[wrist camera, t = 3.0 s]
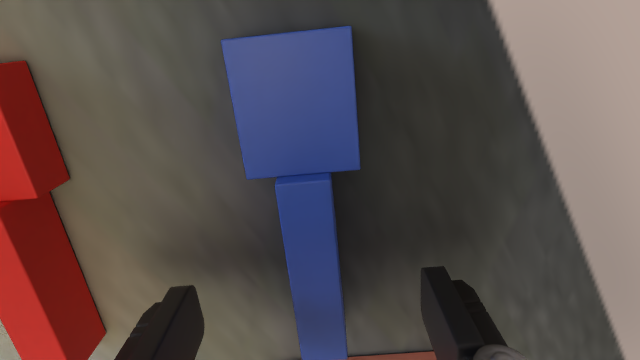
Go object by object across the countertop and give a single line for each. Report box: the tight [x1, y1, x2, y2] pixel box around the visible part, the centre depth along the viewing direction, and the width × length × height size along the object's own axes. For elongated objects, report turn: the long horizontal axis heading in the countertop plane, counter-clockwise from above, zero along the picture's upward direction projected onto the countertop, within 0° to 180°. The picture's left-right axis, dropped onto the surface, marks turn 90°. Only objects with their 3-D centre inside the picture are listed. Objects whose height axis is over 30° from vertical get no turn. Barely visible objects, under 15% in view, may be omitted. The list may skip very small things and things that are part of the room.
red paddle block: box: [0, 61, 106, 360], centre depth 14 cm, size 12×4×2 cm, turn 6°
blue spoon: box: [221, 26, 361, 360], centre depth 14 cm, size 12×4×2 cm, turn 6°
